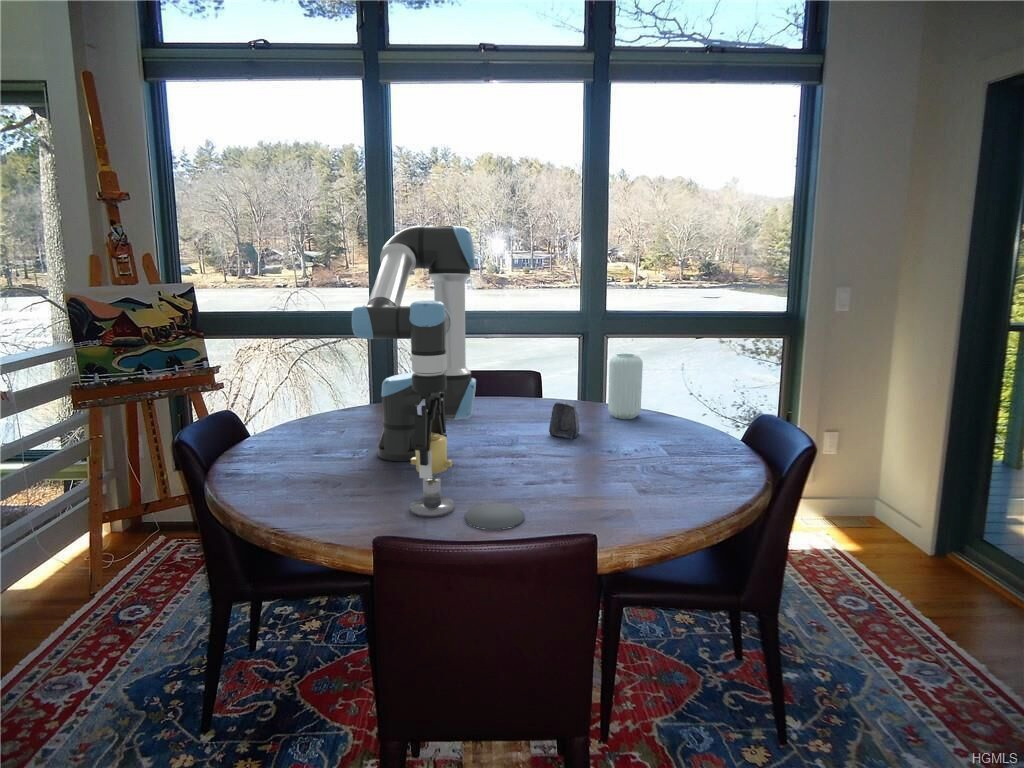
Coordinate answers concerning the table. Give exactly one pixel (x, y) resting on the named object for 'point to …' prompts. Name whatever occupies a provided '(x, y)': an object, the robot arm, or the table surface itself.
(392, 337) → the robot arm
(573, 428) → the stone
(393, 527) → the table surface
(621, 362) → the vase
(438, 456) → the cap
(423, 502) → the metal disc with peg
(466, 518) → the rubber mat
